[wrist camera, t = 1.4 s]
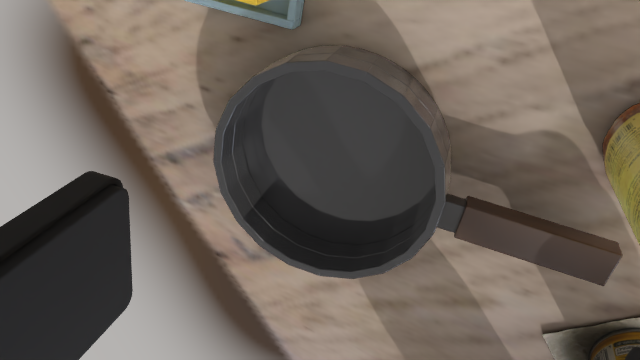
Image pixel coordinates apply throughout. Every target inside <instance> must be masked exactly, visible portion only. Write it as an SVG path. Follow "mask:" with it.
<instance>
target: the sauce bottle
mask: <svg viewBox="0 0 640 360" xmlns="http://www.w3.org/2000/svg"><path fill="white" fill-rule="evenodd" d="M603 157H604V163H605V171H606V174H607V176H608V179H609V181H610V183H611V186H612V188H613V190H614V192H615V194H616V196H617V198H618V200H619V202H620V204H621V207H622V209H623V211H624V213H625V215H626V217H627V219H628V222H629V224H630V226H631V228H632V230H633V232H634V234H635V236H636V238H637V240H638V242H639V244H640V103H638V104H636V105H633V106H632V107H630V108H629V109H627V110H626V111H625V112H623V113H622V114H621V115H620V116H619V117H618V118H617V119H616V120H615V122H614V124H613V125H612V126H611V128H610V129H609V131H608V132H607V135H606V136H605V138H604V142H603Z"/></svg>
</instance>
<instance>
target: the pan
mask: <svg viewBox="0 0 640 360" xmlns="http://www.w3.org/2000/svg"><path fill="white" fill-rule="evenodd" d="M213 161H214V166H215V170H216V175H217V179H218V183H219V187H220V191H221V194H222V196H223V198H224V199H225V201H226V203H227V205H228V207H229V208H230V210H231V212H232V214H233V216H234V218H235V219H236V221H237V222H238V223H239V225H240V226H241V227H242V228H243V229H244V230H245V231H246V232H247V233H248V234H249V235H250V236H251V237H252V238H253V239H254V240H255V242H256V243H257V244H258V245H259V246H260V247H262V248H263V249H265V250H266V251H268V252H270V253H271V254H273V255H274V256H276V257H277V258H279V259H280V260H282V261H283V262H285V263H286V264H288V265H291V266H293V267H296V268H299V269H302V270H305V271H307V272H310V273H313V274H316V275H320V276H326V277H337V278H347V279H356V278H361V277H367V276H372V275H378V274H383V273H385V272H387V271H389V270H391V269H393V268H395V267H397V266H398V265H400V264H402V263H404V262H406V261H408V260H410V259H411V258H412V257H414V256H415V255H416V254H417V252H418V251H419V250H420V249H421V248H422V247H423V246H424V245H425V243H426V242H427V241H428V240H429V239H430V238H431V237H432V236H433V234H434V233H435V230H436V228H437V225H438V222H439V219H440V217H441V214H442V211H443V208H444V206H445V203H446V198H447V193H448V189H449V184H450V179H451V145H450V139H449V134H448V131H447V128H446V125H445V122H444V119H443V117H442V115H441V113H440V111H439V109H438V107H437V105H436V103H435V102H434V100H433V99H432V97H431V96H430V94H429V93H428V92H427V91H426V90H425V88H424V87H423V86H422V85H421V84H420V83H419V82H418V81H417V80H416V79H415V78H414V77H413V76H412V75H411V74H409V73H408V72H407V71H406V70H404V69H403V68H401V67H400V66H398V65H397V64H395V63H394V62H392V61H391V60H388V59H386V58H384V57H382V56H380V55H378V54H376V53H373V52H370V51H367V50H364V49H360V48H355V47H350V46H339V45H327V46H316V47H311V48H307V49H303V50H300V51H297V52H295V53H292V54H290V55H288V56H286V57H284V58H282V59H280V60H278V61H275V62H274V63H272V64H271V65H269V66H268V67H266V68H265V69H263V70H262V71H260V72H259V73H258V74H256V75H255V76H253V77H252V78H251V79H250V80H249V81H248V82H247V83H246V84H245V85H244V86H243V87H242V88H241V89H240V90H239V91H238V92H237V93H236V94H235V95H233V96H232V97H231V98H230V100H229V101H228V104H227V106H226V108H225V110H224V112H223V115H222V117H221V119H220V121H219V123H218V126H217V128H216V134H215V147H214V160H213Z"/></svg>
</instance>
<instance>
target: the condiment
mask: <svg viewBox="0 0 640 360" xmlns="http://www.w3.org/2000/svg"><path fill="white" fill-rule="evenodd" d="M543 337H544V339H545V341H546V343H547V345H548V347H549V349H550V351H551V353H552V356H553V358H554V360H624V359H625V358H626V356H627V354H628V353H629V351H630V350H631V349H632V348H634V347H640V318H631V319H624V320H621V321H613V322H609V323H603V324H600V325H597V326H592V327H582V328H574V329H569V330H565V331H561V332H557V333H549V334H543Z"/></svg>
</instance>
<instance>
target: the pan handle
mask: <svg viewBox="0 0 640 360" xmlns="http://www.w3.org/2000/svg"><path fill="white" fill-rule="evenodd" d="M437 227H438V228H441V229H444V230H447V231H450V232H454V233H455V234H454V237H455V238H458V239H461V240H464V241H467V242H470V243H473V244H476V245H479V246H483V247H486V248H489V249H492V250H495V251H498V252H501V253H504V254H507V255H510V256H513V257H516V258H519V259H522V260H525V261H528V262H531V263H534V264H537V265H541V266H544V267H547V268H550V269H553V270H556V271H559V272H562V273H565V274H568V275H571V276H574V277H577V278H580V279H583V280H586V281H589V282H592V283H595V284H598V285H602V286H604V285H605V283H606V282H607V280H608V279H609V277H610V275H611V274H612V272H613V271H614V269H615V267H616V266H617V264H618V263H619V261H620V259H621V258H622V252H621V249H620V246H619V243H618V242H615V241H612V240H608V239H605V238H602V237H599V236H596V235H592V234H589V233H586V232H583V231H580V230H576V229H573V228H570V227H567V226H563V225H560V224H557V223H554V222H551V221H547V220H544V219H541V218H538V217H535V216H531V215H528V214H525V213H522V212H519V211H515V210H512V209H509V208H506V207H503V206H499V205H496V204H493V203H490V202H487V201H483V200H480V199H477V198H474V197H470V196H467V198H466V199H463V198H460V197H456V196H453V195H450V194H447V198H446V203H445V206H444V208H443V211H442V214H441V217H440V219H439V222H438V225H437Z"/></svg>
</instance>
